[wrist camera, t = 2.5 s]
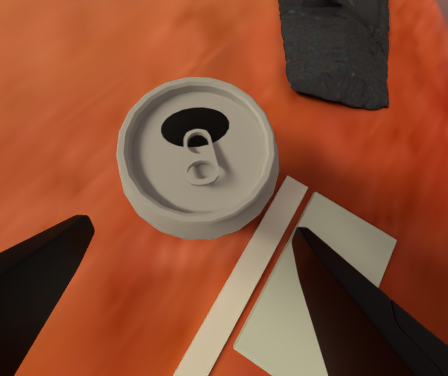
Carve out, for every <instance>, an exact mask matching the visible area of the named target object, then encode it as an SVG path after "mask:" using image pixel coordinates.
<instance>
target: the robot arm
mask: <svg viewBox="0 0 448 376" xmlns="http://www.w3.org/2000/svg"><path fill="white" fill-rule="evenodd" d="M94 231H95V230H94V227H93V224H92V222H91V220H90V218H89V217H88V216H87V215H75V216H73V217H71V218H69V219H67V220H65V221H63V222H61V223H59V224H57V225H55V226H53V227H51V228H49V229H47V230H45V231H43V232H41V233H39V234H37V235H35V236H33V237H31V238H29V239H27V240H25V241H23V242H21V243H19V244H17V245H15V246H13V247H11V248H9V249H7V250H5V251H3V252H1V253H0V376H14V375H15V373H16V371H17V370H18V368H19V366H20V365H21V363H22V361H23V360H24V358H25V356H26V355H27V353H28V351H29V350H30V348H31V346H32V345H33V343H34V341H35V340H36V338H37V336H38V335H39V333H40V331H41V329H42V328H43V326H44V324H45V323H46V321H47V319H48V318H49V316H50V314H51V313H52V311H53V309H54V308H55V306H56V304H57V303H58V301H59V299H60V298H61V296H62V294H63V293H64V291H65V289H66V287H67V286H68V284H69V282H70V281H71V279H72V277H73V276H74V274H75V272H76V271H77V269H78V267H79V265H80V263H81V261H82V259H83V257H84V254H85V252H86V250H87V248H88V246H89V244H90V242H91V239H92V237H93V235H94ZM292 248H293V253H294V258H295V264H296V269H297V274H298V278H299V282H300V285H301V289H302V292H303V295H304V298H305V302H306V305H307V308H308V311H309V315H310V318H311V321H312V325H313V328H314V331H315V334H316V338H317V341H318V344H319V348H320V351H321V354H322V357H323V361H324V364H325V367H326V370H327V374H328V376H448V345H447V344H445V343H444V342H443V341H441V340H440V339H439V338H438V337H436V336H435V335H434V334H433V333H431V332H430V331H429V330H428V329H426V328H425V327H424V326H423V325H421V324H420V323H419V322H418V321H417V320H415V319H414V318H413V317H412V316H411V315H409V314H408V313H407V312H406V311H405V310H403V309H402V308H401V307H400V306H399V305H398V304H396V303H395V302H394V301H393V300H390V298H389V297H388V296H387V295H386V294H385V293H383V292H382V291H381V290H380V289H379V288H378V287H376V286H375V285H374V284H373V283H372V282H371V281H369V280H368V279H367V278H366V277H365V276H364V275H362V274H361V273H360V272H359V271H358V270H357V269H355V268H354V267H353V266H352V265H351V264H350V263H348V262H347V261H346V260H345V259H344V258H343V257H341V256H340V255H339V254H338V253H337V252H336V251H334V250H333V249H332V248H331V247H330V246H329V245H327V244H326V243H325V242H324V241H323V240H322V239H320V238H319V237H318V236H317V235H316V234H315V233H313V232H312V231H311V230H310V229H309V228H307V227H297V228H296V230H295V233H294V235H293V238H292Z"/></svg>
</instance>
